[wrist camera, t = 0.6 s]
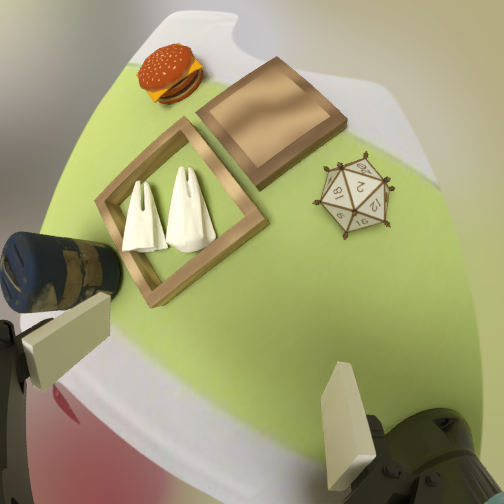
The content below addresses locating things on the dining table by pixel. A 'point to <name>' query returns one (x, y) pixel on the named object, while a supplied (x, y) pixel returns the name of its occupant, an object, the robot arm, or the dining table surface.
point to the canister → (55, 272)
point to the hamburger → (170, 74)
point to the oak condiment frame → (208, 257)
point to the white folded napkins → (169, 219)
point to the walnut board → (271, 121)
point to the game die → (356, 195)
